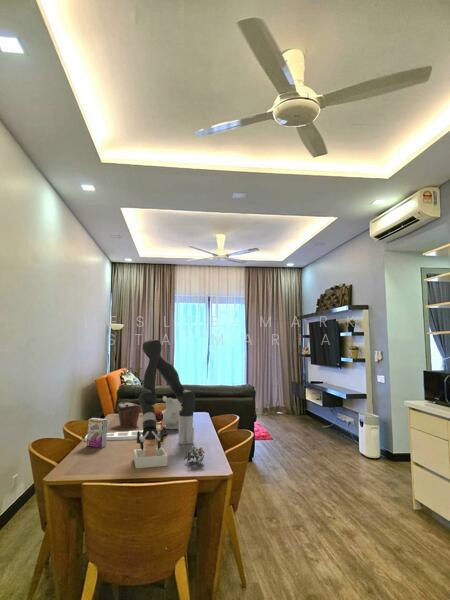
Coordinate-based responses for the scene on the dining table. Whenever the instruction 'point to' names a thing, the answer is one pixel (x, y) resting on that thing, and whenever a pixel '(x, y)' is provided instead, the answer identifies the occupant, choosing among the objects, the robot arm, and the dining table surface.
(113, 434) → the holder
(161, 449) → the tray
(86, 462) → the dining table surface
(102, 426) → the candy bar box
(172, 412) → the ceramic pitcher
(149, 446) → the tub
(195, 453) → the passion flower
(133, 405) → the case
